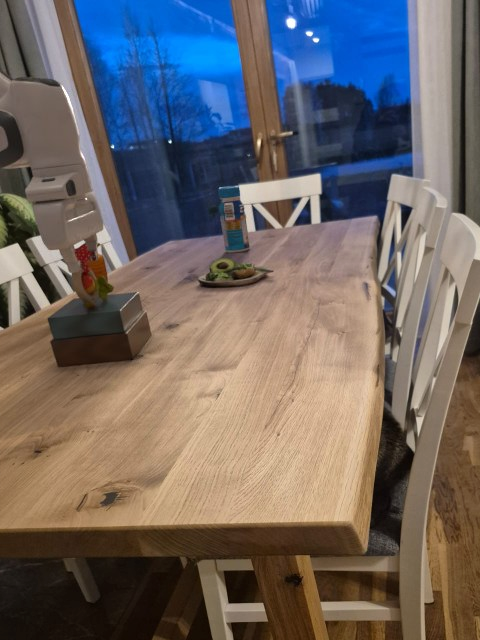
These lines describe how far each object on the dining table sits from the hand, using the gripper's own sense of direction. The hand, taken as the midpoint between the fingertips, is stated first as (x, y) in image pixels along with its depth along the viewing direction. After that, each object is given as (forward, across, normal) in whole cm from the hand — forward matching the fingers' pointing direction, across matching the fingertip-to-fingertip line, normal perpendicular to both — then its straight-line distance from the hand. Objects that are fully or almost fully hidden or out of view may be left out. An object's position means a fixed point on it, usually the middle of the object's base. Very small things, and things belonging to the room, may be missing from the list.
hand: (85, 265), depth 104 cm
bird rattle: (+7, 0, 0) cm, 7 cm away
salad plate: (+16, -49, +19) cm, 55 cm away
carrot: (+16, -42, -14) cm, 47 cm away
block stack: (+16, 0, 0) cm, 16 cm away
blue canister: (+16, -91, +16) cm, 94 cm away
